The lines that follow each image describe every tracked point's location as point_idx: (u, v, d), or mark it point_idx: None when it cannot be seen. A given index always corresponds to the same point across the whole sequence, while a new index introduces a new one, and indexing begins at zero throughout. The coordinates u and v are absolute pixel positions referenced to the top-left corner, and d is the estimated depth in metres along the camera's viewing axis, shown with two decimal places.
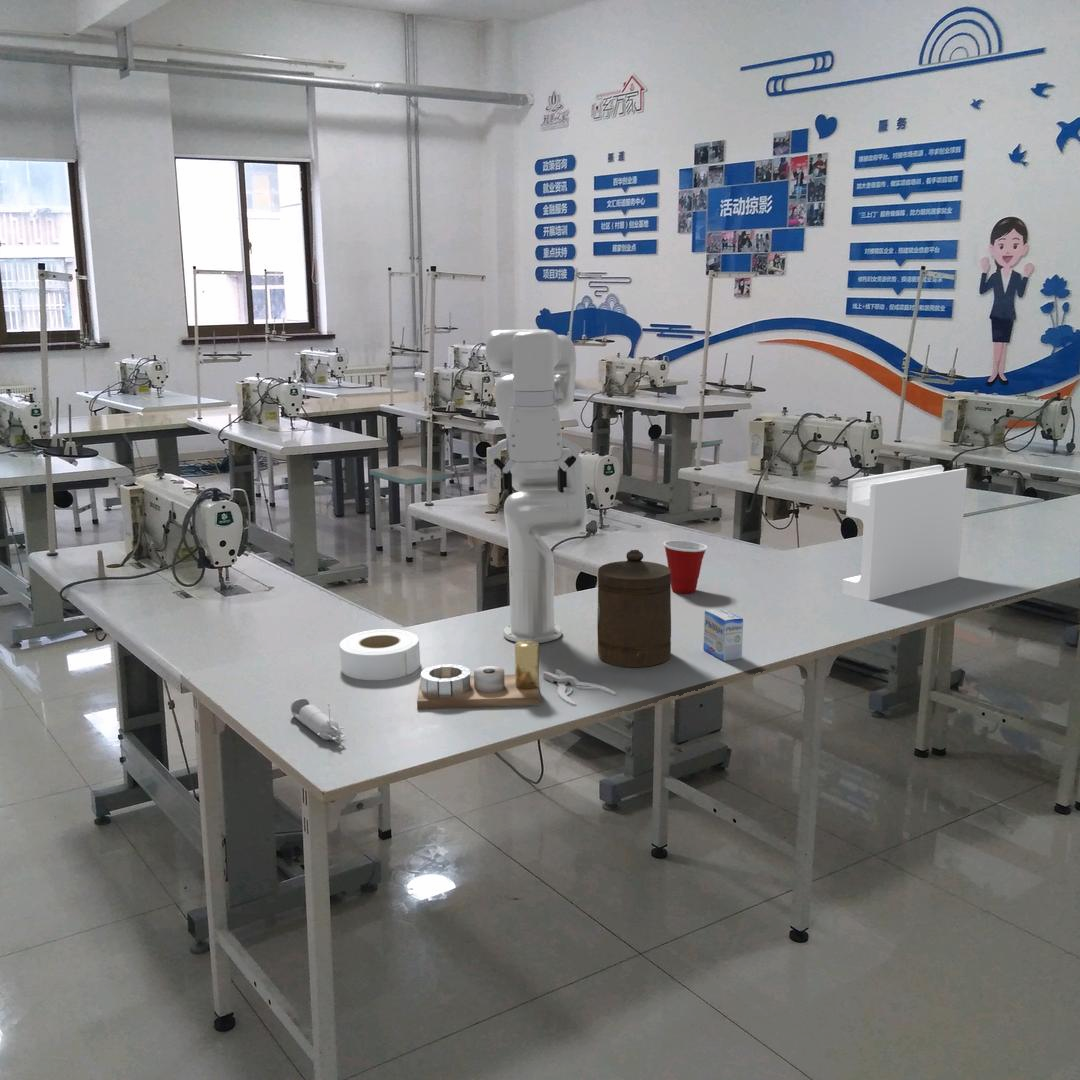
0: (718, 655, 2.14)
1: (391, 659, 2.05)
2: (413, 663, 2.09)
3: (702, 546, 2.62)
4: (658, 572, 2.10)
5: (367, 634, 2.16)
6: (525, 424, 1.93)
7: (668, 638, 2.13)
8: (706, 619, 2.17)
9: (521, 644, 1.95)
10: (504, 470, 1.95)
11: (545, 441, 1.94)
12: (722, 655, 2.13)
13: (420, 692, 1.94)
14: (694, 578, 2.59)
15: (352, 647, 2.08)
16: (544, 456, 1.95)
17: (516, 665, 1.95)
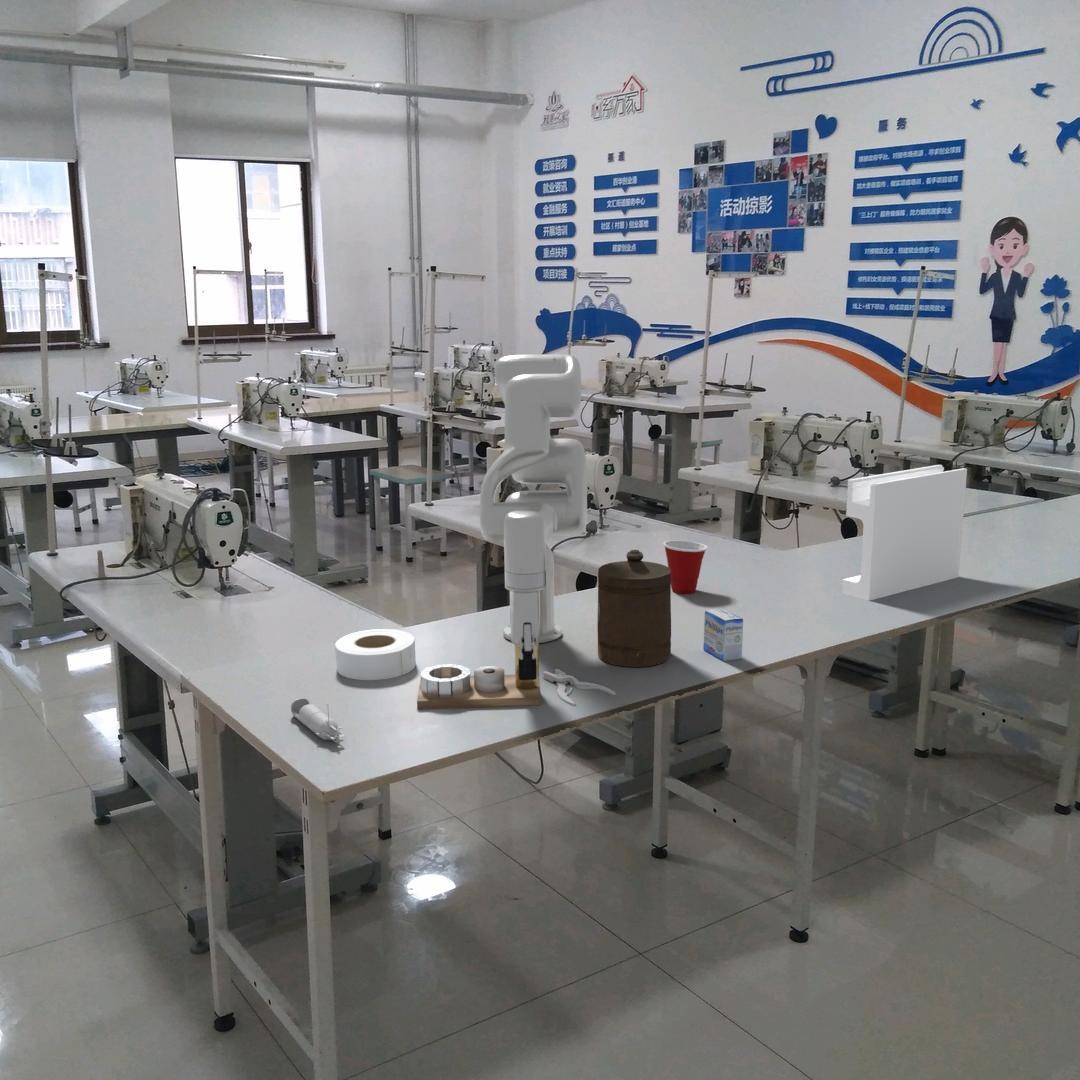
0: (718, 655, 2.14)
1: (386, 659, 2.05)
2: (409, 663, 2.09)
3: (702, 546, 2.62)
4: (658, 572, 2.10)
5: (363, 634, 2.16)
6: None
7: (668, 638, 2.13)
8: (706, 619, 2.17)
9: None
10: None
11: None
12: (722, 655, 2.13)
13: (420, 692, 1.94)
14: (694, 578, 2.59)
15: (348, 647, 2.09)
16: None
17: (516, 665, 1.95)
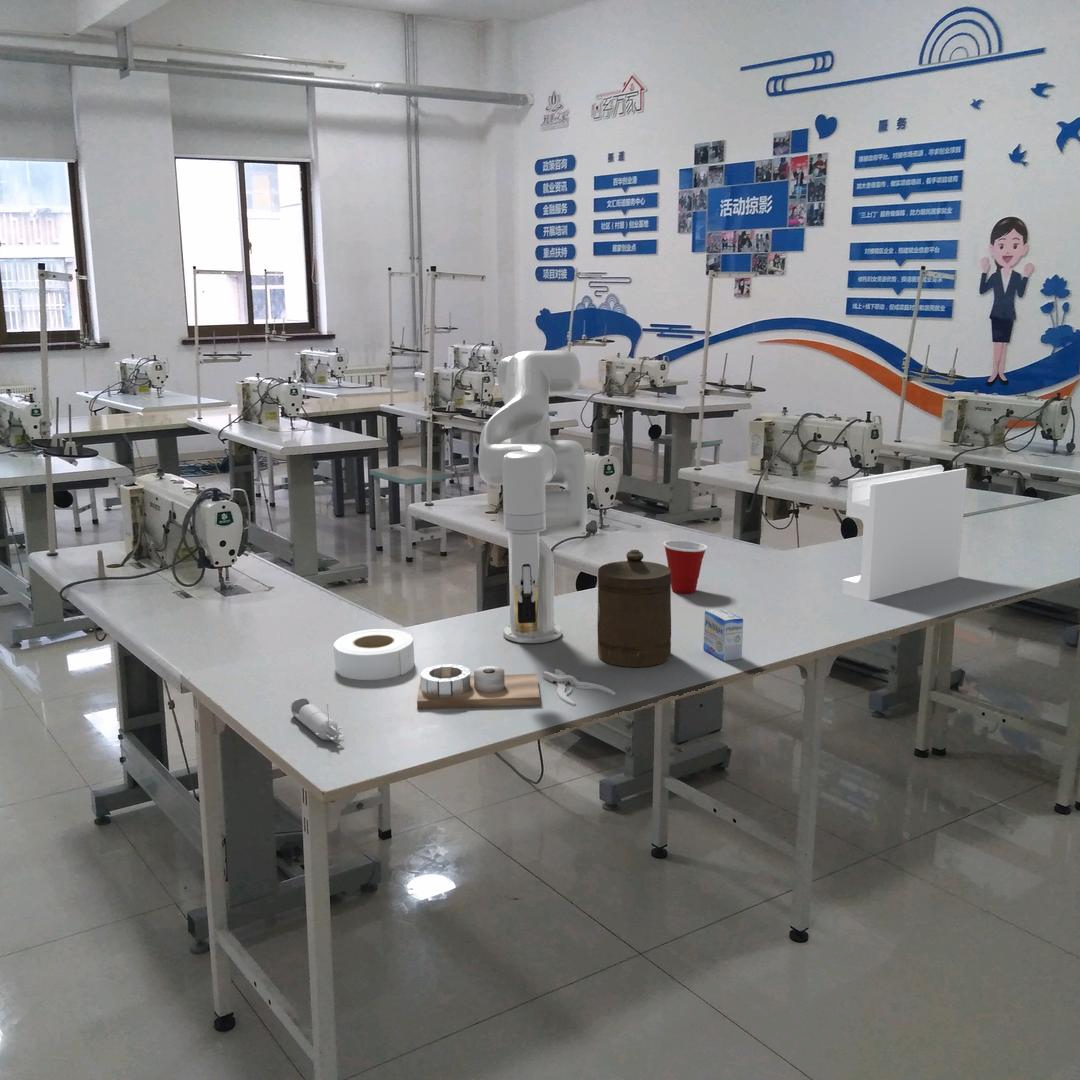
0: (718, 655, 2.14)
1: (385, 659, 2.05)
2: (407, 663, 2.09)
3: (702, 546, 2.62)
4: (658, 572, 2.10)
5: (362, 634, 2.16)
6: None
7: (668, 638, 2.13)
8: (706, 619, 2.17)
9: None
10: (533, 600, 1.90)
11: None
12: (722, 655, 2.13)
13: (420, 692, 1.94)
14: (694, 578, 2.59)
15: (346, 646, 2.09)
16: None
17: (515, 608, 1.93)
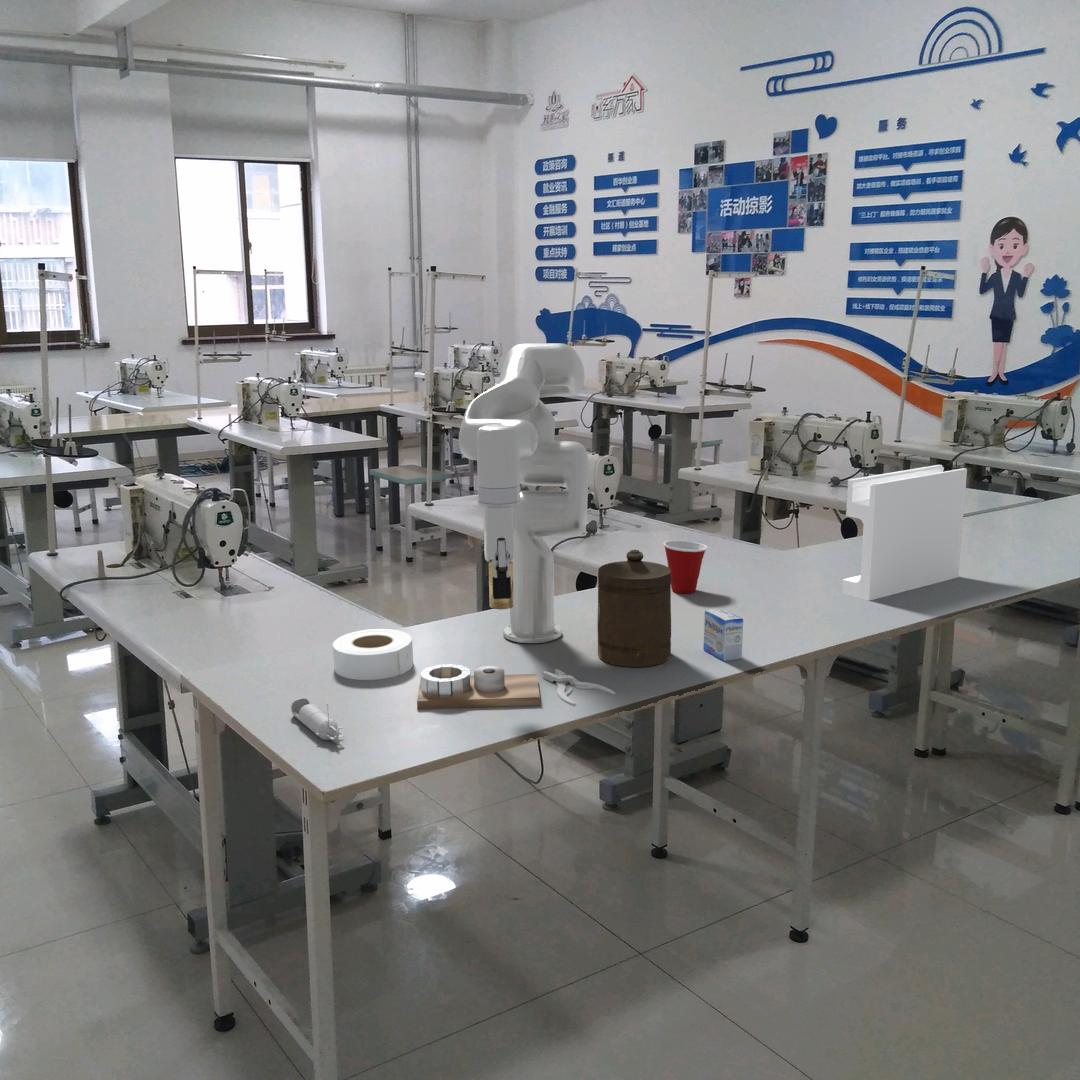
0: (718, 655, 2.14)
1: (383, 659, 2.05)
2: (406, 662, 2.09)
3: (702, 546, 2.62)
4: (658, 572, 2.10)
5: (361, 634, 2.16)
6: None
7: (668, 638, 2.13)
8: (706, 619, 2.17)
9: None
10: (508, 575, 1.89)
11: None
12: (722, 655, 2.13)
13: (420, 692, 1.94)
14: (694, 578, 2.59)
15: (345, 646, 2.09)
16: None
17: (490, 584, 1.91)
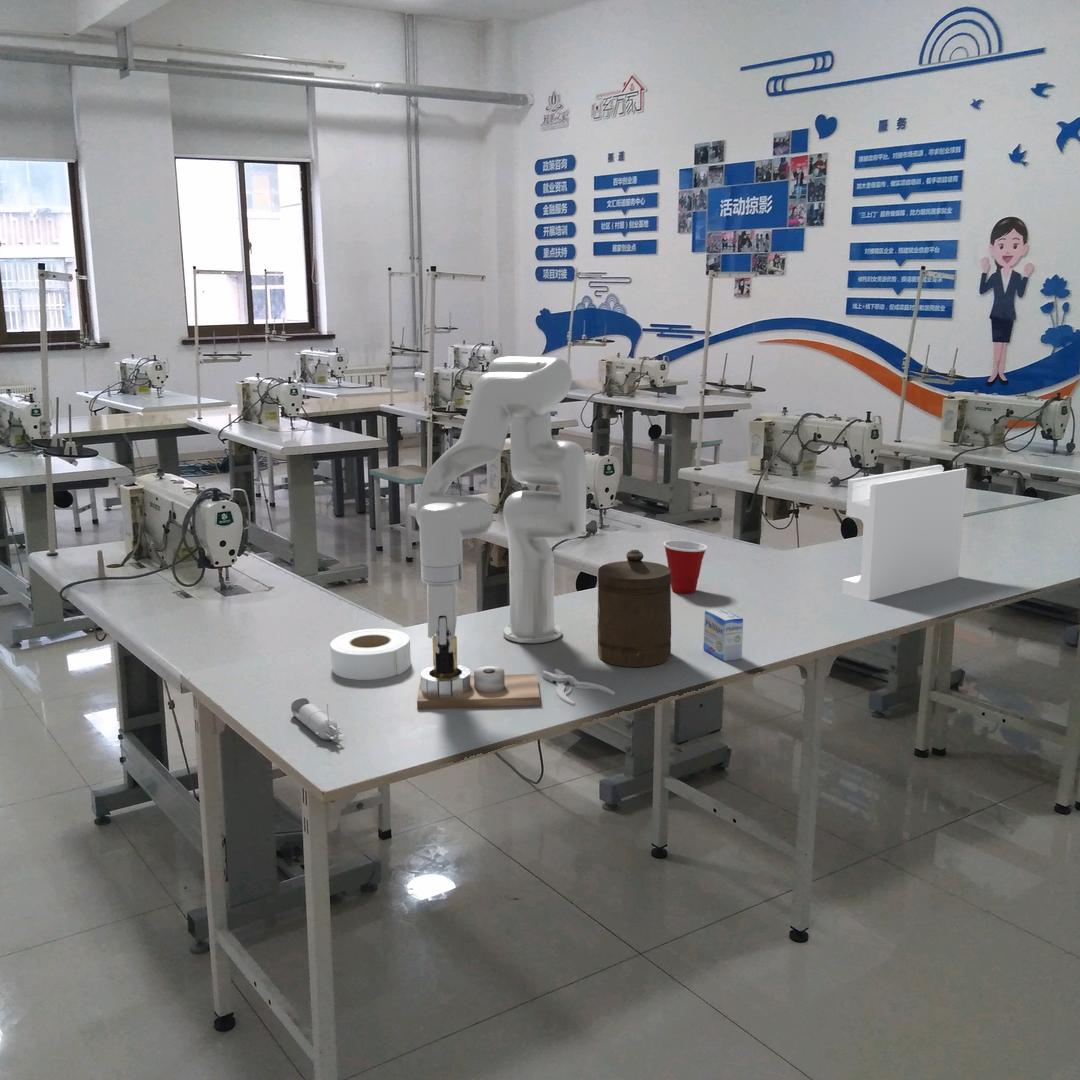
0: (718, 655, 2.14)
1: (381, 659, 2.05)
2: (404, 662, 2.09)
3: (702, 546, 2.62)
4: (658, 572, 2.10)
5: (358, 633, 2.16)
6: (456, 597, 1.91)
7: (668, 638, 2.13)
8: (706, 619, 2.17)
9: None
10: None
11: None
12: (722, 655, 2.13)
13: (420, 692, 1.94)
14: (694, 578, 2.59)
15: (343, 646, 2.09)
16: None
17: (434, 659, 1.94)
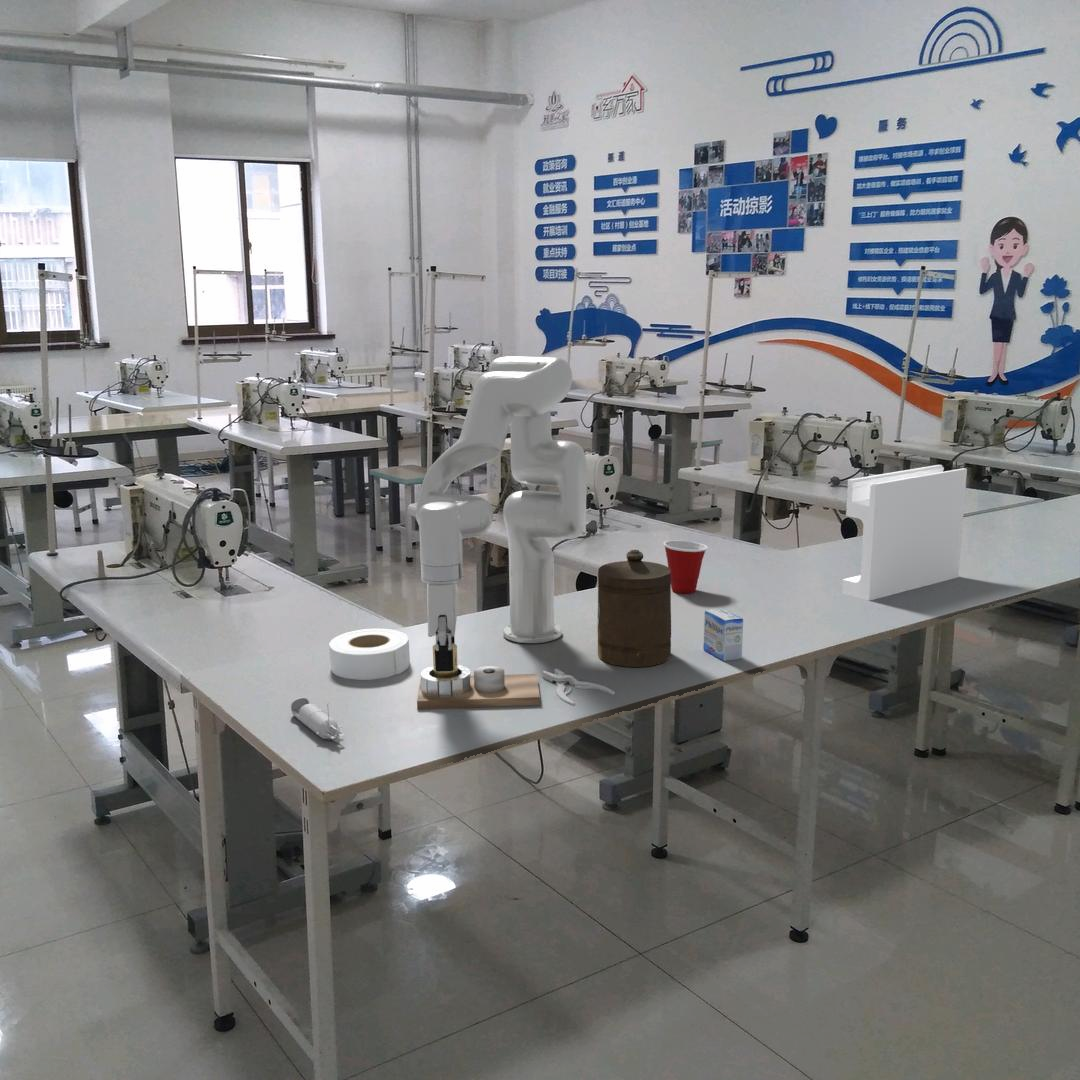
0: (718, 655, 2.14)
1: (380, 659, 2.05)
2: (402, 662, 2.09)
3: (702, 546, 2.62)
4: (658, 572, 2.10)
5: (357, 633, 2.17)
6: (456, 596, 1.91)
7: (668, 638, 2.13)
8: (706, 619, 2.17)
9: None
10: None
11: None
12: (722, 655, 2.13)
13: (420, 692, 1.94)
14: (694, 578, 2.59)
15: (342, 646, 2.09)
16: None
17: (434, 667, 1.95)
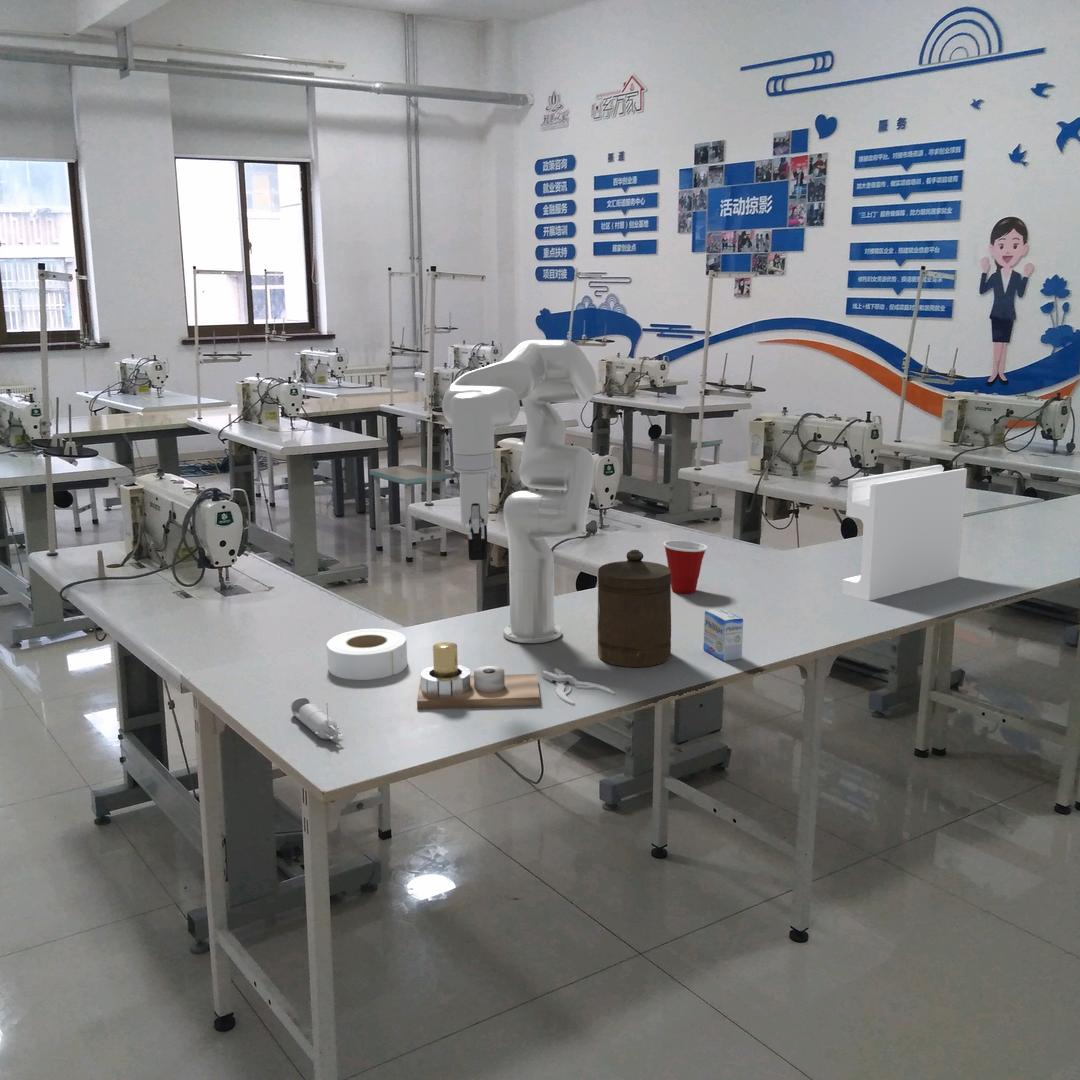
0: (718, 655, 2.14)
1: (377, 659, 2.05)
2: (400, 662, 2.09)
3: (702, 546, 2.62)
4: (658, 572, 2.10)
5: (355, 633, 2.16)
6: (488, 486, 1.92)
7: (668, 638, 2.13)
8: (706, 619, 2.17)
9: (439, 645, 1.95)
10: (483, 536, 1.91)
11: None
12: (722, 655, 2.13)
13: (420, 692, 1.94)
14: (694, 578, 2.59)
15: (339, 646, 2.09)
16: None
17: (434, 667, 1.95)
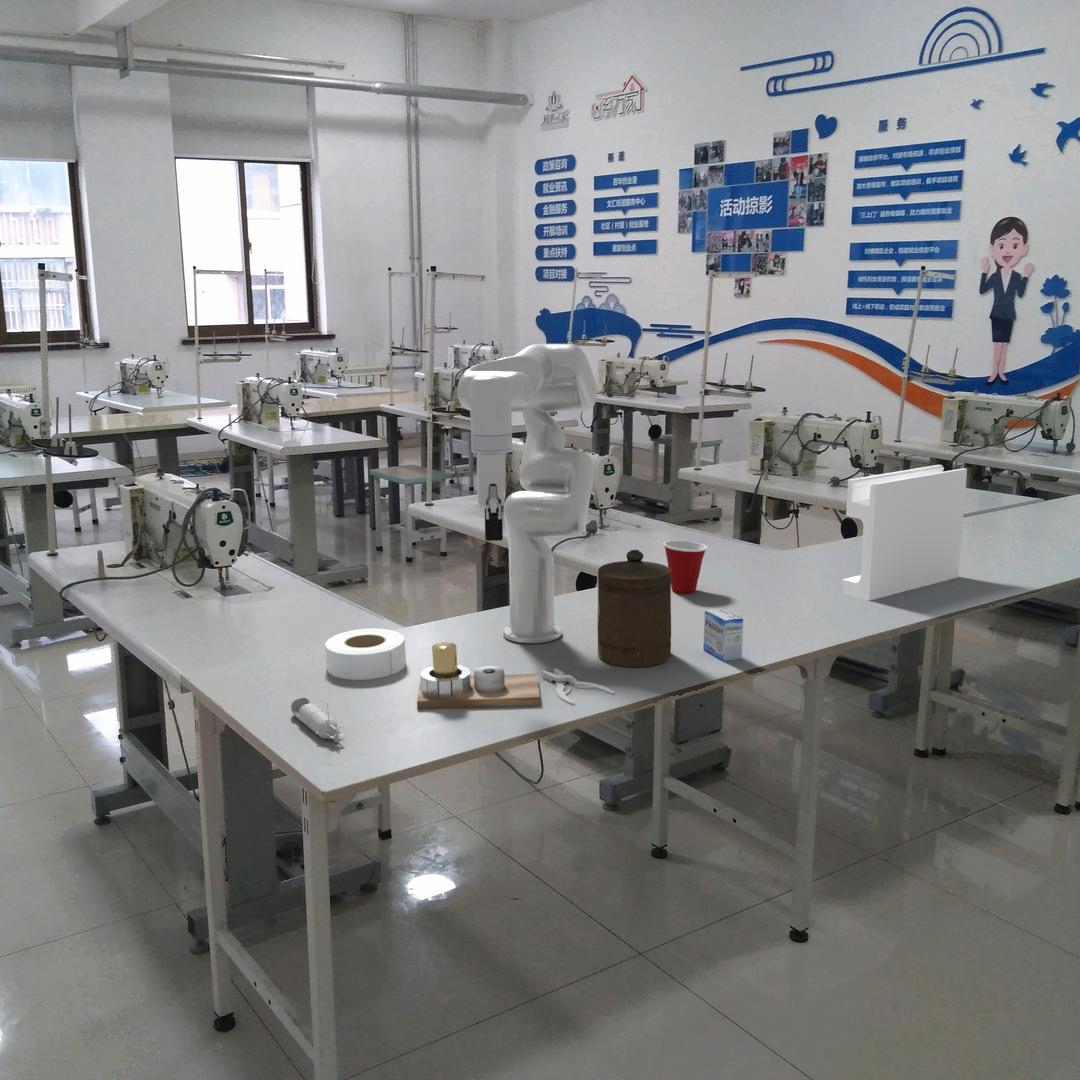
0: (718, 655, 2.14)
1: (375, 659, 2.05)
2: (398, 662, 2.09)
3: (702, 546, 2.62)
4: (658, 572, 2.10)
5: (354, 633, 2.17)
6: (505, 467, 1.95)
7: (668, 638, 2.13)
8: (706, 619, 2.17)
9: (439, 646, 1.95)
10: None
11: None
12: (722, 655, 2.13)
13: (420, 692, 1.94)
14: (694, 578, 2.59)
15: (338, 646, 2.09)
16: None
17: (434, 667, 1.94)
